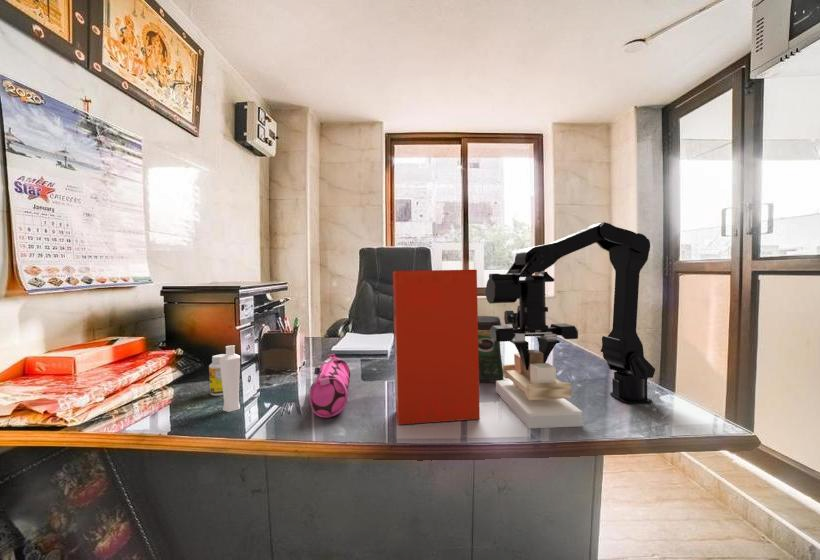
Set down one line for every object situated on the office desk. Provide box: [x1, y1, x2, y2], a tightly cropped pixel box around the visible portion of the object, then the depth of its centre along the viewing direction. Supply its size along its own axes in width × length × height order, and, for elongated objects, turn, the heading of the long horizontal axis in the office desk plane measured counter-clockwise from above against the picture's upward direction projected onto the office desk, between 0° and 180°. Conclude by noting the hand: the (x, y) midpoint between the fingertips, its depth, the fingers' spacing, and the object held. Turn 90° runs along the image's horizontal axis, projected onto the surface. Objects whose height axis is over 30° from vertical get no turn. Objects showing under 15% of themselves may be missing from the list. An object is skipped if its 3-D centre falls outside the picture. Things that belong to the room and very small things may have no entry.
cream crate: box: [530, 362, 557, 384], centre depth 77 cm, size 4×4×4 cm
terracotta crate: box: [513, 353, 524, 374], centre depth 87 cm, size 4×4×4 cm
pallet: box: [502, 349, 573, 400], centre depth 82 cm, size 9×17×8 cm, turn 3°
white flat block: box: [495, 379, 583, 430], centre depth 82 cm, size 11×22×3 cm, turn 3°
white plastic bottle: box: [219, 344, 241, 413], centre depth 84 cm, size 5×4×15 cm
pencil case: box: [308, 353, 351, 418], centre depth 87 cm, size 21×10×10 cm, turn 10°
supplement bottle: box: [208, 353, 226, 397], centre depth 96 cm, size 6×6×10 cm
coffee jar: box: [478, 315, 504, 383], centre depth 104 cm, size 10×8×19 cm
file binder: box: [392, 269, 481, 425], centre depth 78 cm, size 8×17×32 cm, turn 97°
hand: (533, 369), depth 82 cm, fingers closed on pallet, 3 cm apart
